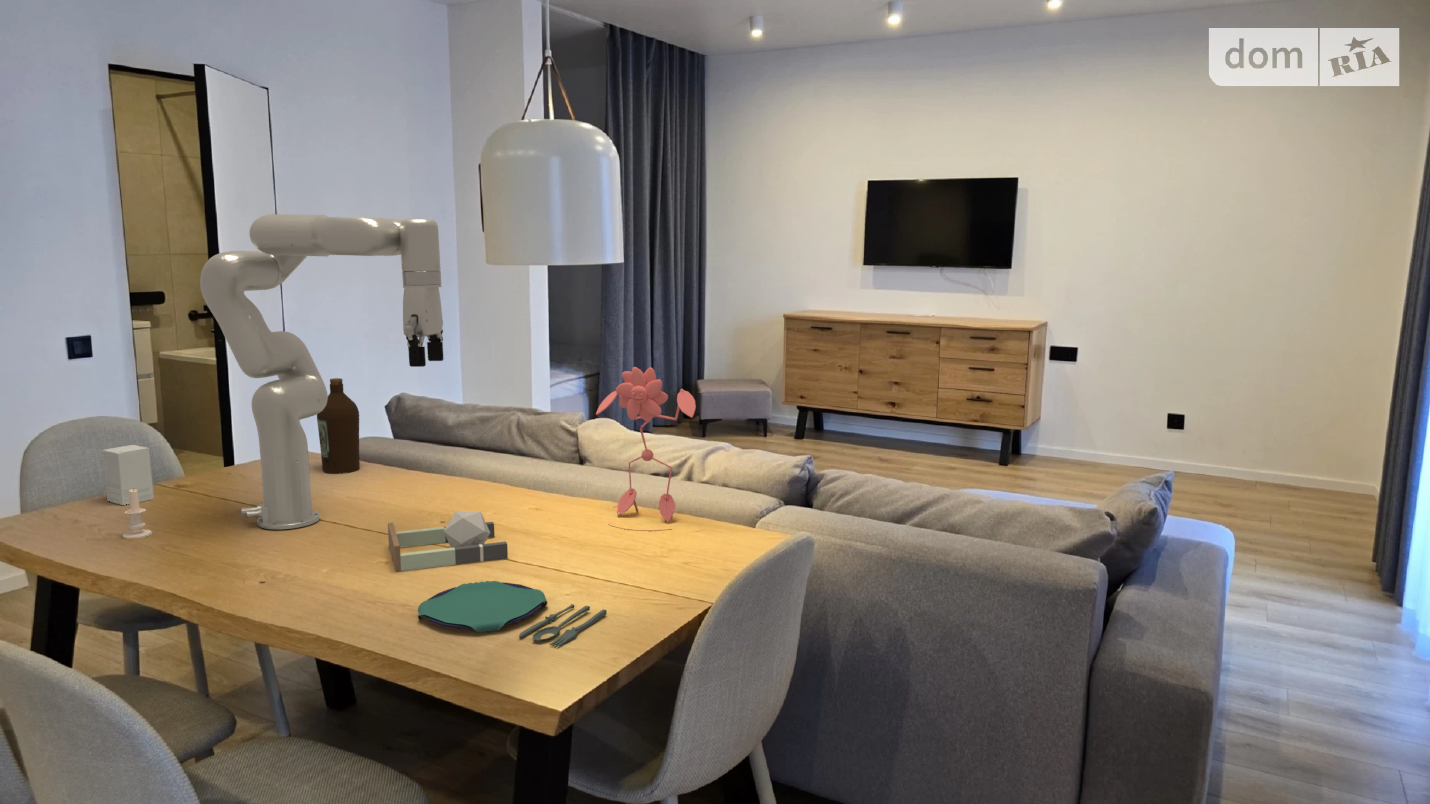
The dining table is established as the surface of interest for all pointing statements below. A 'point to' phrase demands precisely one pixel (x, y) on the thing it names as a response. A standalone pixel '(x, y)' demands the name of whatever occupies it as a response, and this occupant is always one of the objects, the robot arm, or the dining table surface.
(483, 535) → the die
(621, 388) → the figurine
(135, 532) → the candle
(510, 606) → the cutlery set
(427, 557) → the trap lane
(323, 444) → the olive oil
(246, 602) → the dining table surface
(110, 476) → the supplement box
